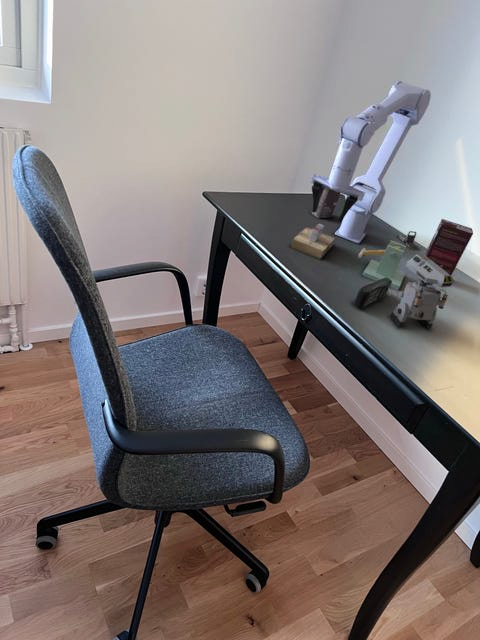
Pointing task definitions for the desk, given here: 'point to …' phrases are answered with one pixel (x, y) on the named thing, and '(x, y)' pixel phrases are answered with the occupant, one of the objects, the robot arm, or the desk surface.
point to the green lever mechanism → (387, 265)
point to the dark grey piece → (372, 292)
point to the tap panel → (312, 243)
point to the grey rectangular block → (316, 232)
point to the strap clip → (409, 240)
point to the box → (327, 203)
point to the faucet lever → (373, 252)
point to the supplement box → (448, 244)
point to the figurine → (421, 292)
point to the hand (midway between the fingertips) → (327, 216)
